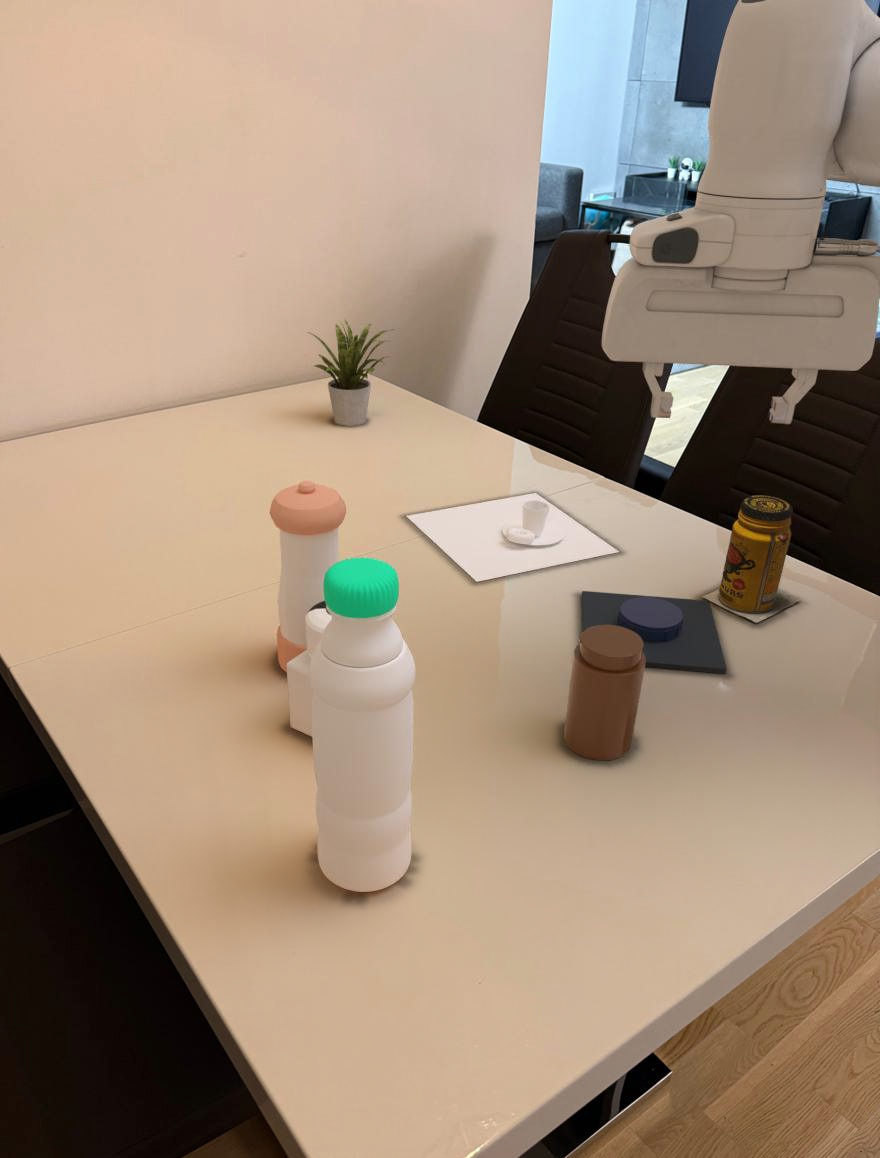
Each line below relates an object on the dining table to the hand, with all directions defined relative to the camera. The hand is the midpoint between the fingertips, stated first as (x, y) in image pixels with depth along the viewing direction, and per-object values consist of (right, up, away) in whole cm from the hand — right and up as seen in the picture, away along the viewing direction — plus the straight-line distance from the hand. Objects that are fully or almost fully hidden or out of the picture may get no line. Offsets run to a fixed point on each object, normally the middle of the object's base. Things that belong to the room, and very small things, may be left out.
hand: (719, 419), depth 77 cm
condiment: (+14, -14, +30) cm, 36 cm away
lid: (+1, -15, +23) cm, 28 cm away
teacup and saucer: (-12, -5, +44) cm, 46 cm away
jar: (-8, -27, +8) cm, 29 cm away
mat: (+1, -17, +24) cm, 29 cm away
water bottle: (-29, -35, -5) cm, 46 cm away
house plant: (-33, +18, +80) cm, 89 cm away
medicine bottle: (-31, -26, +10) cm, 42 cm away
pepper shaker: (-35, -20, +19) cm, 44 cm away
